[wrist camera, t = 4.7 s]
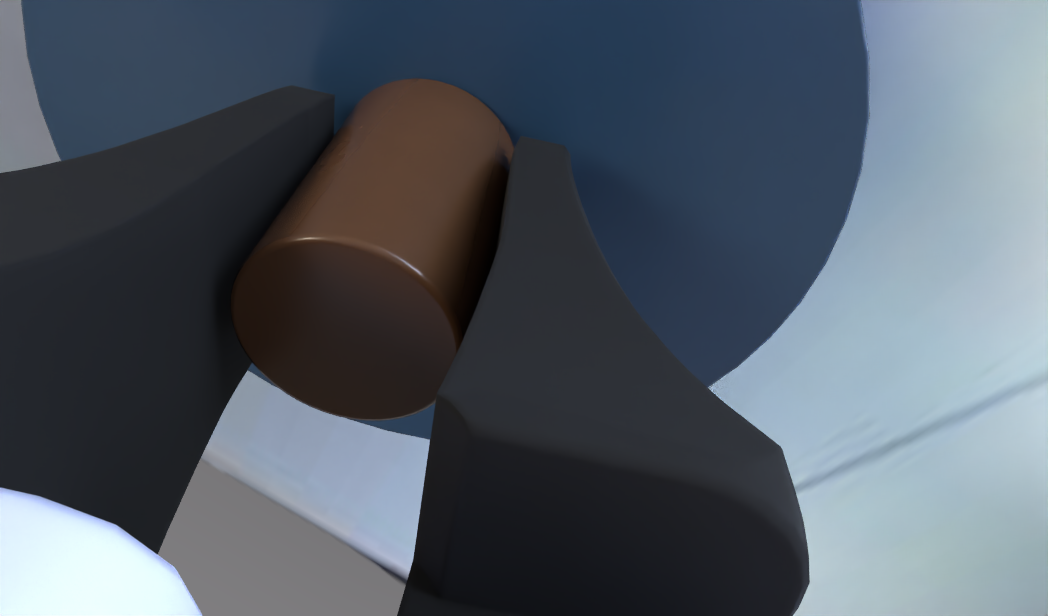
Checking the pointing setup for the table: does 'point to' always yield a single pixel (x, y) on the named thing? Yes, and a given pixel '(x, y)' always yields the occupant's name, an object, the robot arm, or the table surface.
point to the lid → (491, 161)
